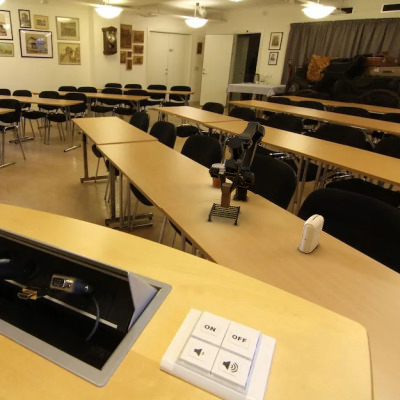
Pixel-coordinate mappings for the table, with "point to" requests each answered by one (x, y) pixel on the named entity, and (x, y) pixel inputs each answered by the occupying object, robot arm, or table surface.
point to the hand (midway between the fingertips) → (225, 192)
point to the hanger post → (225, 195)
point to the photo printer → (311, 233)
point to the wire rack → (224, 212)
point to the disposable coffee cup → (216, 181)
